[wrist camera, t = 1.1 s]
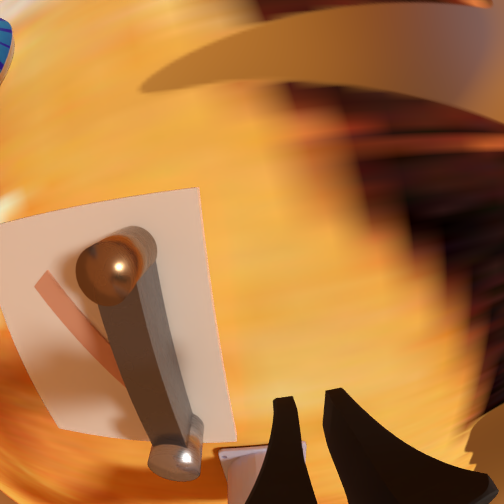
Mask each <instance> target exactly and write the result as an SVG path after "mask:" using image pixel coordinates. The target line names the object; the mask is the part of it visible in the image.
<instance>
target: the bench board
mask: <svg viewBox="0 0 504 504" xmlns="http://www.w3.org/2000/svg"><path fill="white" fill-rule="evenodd" d="M128 226H138V227H141V228H144V229H145V230H147V231H148V232H149V233H150V234H151V235H152V236H153V238H154V240H155V242H156V245H157V258H156V264H157V270H158V275H159V280H160V285H161V290H162V295H163V300H164V305H165V310H166V314H167V319H168V323H169V328H170V332H171V336H172V340H173V344H174V348H175V352H176V356H177V360H178V364H179V368H180V371H181V375H182V379H183V382H184V386H185V389H186V393H187V396H188V399H189V403H190V406H191V409H192V413H193V414H195V415H197V416H198V417H199V418H200V419H201V420H202V421H203V423H204V435H203V443H214V442H236V441H237V432H236V427H235V422H234V417H233V412H232V407H231V402H230V397H229V391H228V386H227V380H226V375H225V369H224V363H223V358H222V352H221V346H220V340H219V333H218V327H217V321H216V314H215V308H214V301H213V294H212V287H211V280H210V273H209V266H208V258H207V250H206V243H205V235H204V226H203V218H202V209H201V200H200V191H199V187H194V188H186V189H178V190H171V191H164V192H157V193H150V194H143V195H137V196H131V197H125V198H119V199H113V200H107V201H102V202H96V203H91V204H86V205H80V206H75V207H70V208H66V209H61V210H56V211H52V212H47V213H43V214H38V215H34V216H30V217H26V218H21V219H17V220H13V221H9V222H6V223H2V224H0V306H1V309H2V312H3V315H4V318H5V320H6V323H7V326H8V329H9V331H10V334H11V336H12V339H13V341H14V344H15V346H16V348H17V351H18V353H19V355H20V357H21V360H22V362H23V364H24V366H25V368H26V370H27V372H28V374H29V376H30V378H31V380H32V382H33V384H34V386H35V388H36V390H37V392H38V394H39V395H40V397H41V399H42V401H43V403H44V404H45V406H46V408H47V409H48V411H49V413H50V414H51V416H52V418H53V419H54V421H55V423H56V424H57V426H58V427H59V428H61V429H65V430H70V431H75V432H81V433H86V434H92V435H98V436H105V437H112V438H120V439H130V440H140V441H150V439H149V437H148V435H147V433H146V431H145V429H144V427H143V425H142V423H141V421H140V419H139V416H138V414H137V412H136V410H135V408H134V405H133V403H132V401H131V398H130V396H129V394H128V391H127V389H126V386H125V384H124V381H123V379H122V376H121V374H120V371H119V368H118V366H117V363H116V360H115V358H114V355H113V352H112V349H111V346H110V343H109V340H108V337H107V334H106V331H105V328H104V324H103V321H102V318H101V314H100V311H99V308H98V304H96V303H94V302H93V301H91V300H90V299H89V298H87V297H86V296H85V294H84V293H83V292H82V290H81V289H80V287H79V285H78V282H77V279H76V272H75V270H76V263H77V260H78V257H79V256H80V254H81V253H82V252H83V251H84V250H85V249H86V248H88V247H90V246H92V245H94V244H95V243H97V242H99V241H101V240H103V239H104V238H106V237H108V236H110V235H112V234H114V233H116V232H117V231H119V230H121V229H123V228H125V227H128Z"/></svg>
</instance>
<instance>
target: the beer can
mask: <svg viewBox="0 0 504 504" xmlns="http://www.w3.org/2000/svg"><path fill="white" fill-rule="evenodd" d="M14 45H15V44H14V38H13V32H12V27H11V25H10V24H9V23H8V22H7V21H5V20H3V19H1V18H0V84H1V82H2V81H3V79H4V77H5V75H6V73H7V71H8V69H9V66H10V64H11V61H12V58H13V54H14Z"/></svg>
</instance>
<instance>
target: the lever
mask: <svg viewBox="0 0 504 504" xmlns="http://www.w3.org/2000/svg"><path fill="white" fill-rule="evenodd" d="M156 258H157V245H156V242H155V240H154V238H153V236H152V235H151V234H150V233H149V232H148V231H147V230H145V229H144V228H141V227H138V226H128V227H125V228H123V229H121V230H119V231H117V232H116V233H114V234H112V235H110V236H108V237H106V238H104V239H103V240H101V241H99V242H97V243H95V244H94V245H92V246H90V247H88V248H86V249H85V250H84V251H83V252H82V253H81V254H80V256H79V257H78V260H77V263H76V270H75V272H76V279H77V282H78V285H79V287H80V289H81V290H82V292H83V293H84V294H85V296H86V297H87V298H89V299H90V300H91V301H93V302H94V303H96V304H98V308H99V311H100V314H101V318H102V321H103V324H104V328H105V331H106V334H107V337H108V340H109V343H110V346H111V349H112V352H113V355H114V358H115V360H116V363H117V366H118V368H119V371H120V374H121V376H122V379H123V381H124V384H125V386H126V389H127V391H128V394H129V396H130V398H131V401H132V403H133V405H134V408H135V410H136V412H137V414H138V416H139V419H140V421H141V423H142V425H143V427H144V429H145V431H146V433H147V435H148V437H149V439H150V441H151V443H152V447H151V451H150V455H149V459H148V467H149V468H150V470H151V471H153V472H154V473H155V474H157V475H158V476H161V477H163V478H165V479H169V480H173V481H191V480H194V479H196V478H198V477H199V475H200V469H201V457H202V446H203V435H204V423H203V421H202V420H201V419H200V418H199V417H198V416H197V415H195V414H193V413H192V409H191V406H190V403H189V399H188V396H187V393H186V389H185V386H184V382H183V379H182V375H181V371H180V368H179V364H178V360H177V356H176V352H175V348H174V344H173V340H172V336H171V332H170V328H169V323H168V319H167V314H166V310H165V305H164V300H163V295H162V290H161V285H160V280H159V275H158V270H157V264H156Z"/></svg>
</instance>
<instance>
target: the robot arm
mask: <svg viewBox="0 0 504 504" xmlns="http://www.w3.org/2000/svg"><path fill="white" fill-rule="evenodd" d="M273 409H274V416H273V425H272V430H271V435H270V440H269V444H268V445H266V446H256V447H244V448H226V449H220V450H219V451H218V455H219V459H220V462H221V465H222V468H223V471H224V474H225V477H226V480H227V483H228V504H317V501H316V498H315V495H314V491H313V488H312V485H311V482H310V478H309V475H308V471H307V468H306V464H305V459H306V442H305V441H301V433H300V425H299V418H298V411H297V407H296V404H295V401H294V399H293V396H289V397H282V398H276V399H274V400H273ZM323 429H324V433H325V438H326V442H327V446H328V449H329V451H330V454H331V457H332V459H333V462H334V464H335V467H336V469H337V472H338V474H339V477H340V480H341V482H342V485H343V487H344V490H345V493H346V496H347V499H348V503H349V504H489V503H490V502H491V501H492V500H493V499H494V498H495V497H496V495H497V494H498V491H499V490H498V489H497V487H496V485H495V484H494V482H493V481H492V479H491V478H490V477H489V476H488V475H487V474H484V473H480V472H475V471H470V470H466V469H462V468H459V467H455V466H452V465H449V464H447V463H444V462H442V461H439V460H437V459H435V458H432V457H430V456H428V455H426V454H424V453H422V452H420V451H418V450H416V449H415V448H413V447H411V446H410V445H408V444H406V443H405V442H403V441H402V440H400V439H399V438H397V437H396V436H395V435H393V434H392V433H391V432H389V431H388V430H387V429H385V428H384V427H383V426H382V425H380V424H379V423H378V422H377V421H376V420H375V419H373V418H372V417H371V416H370V415H369V414H368V413H367V412H366V411H365V410H363V409H362V408H361V407H360V406H359V405H358V404H357V403H356V402H355V401H354V400H353V399H352V398H351V397H350V396H349V395H348V393H347V392H346V391H345V390H344V389H342V388H337V389H332V390H326V392H325V404H324V415H323Z"/></svg>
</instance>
